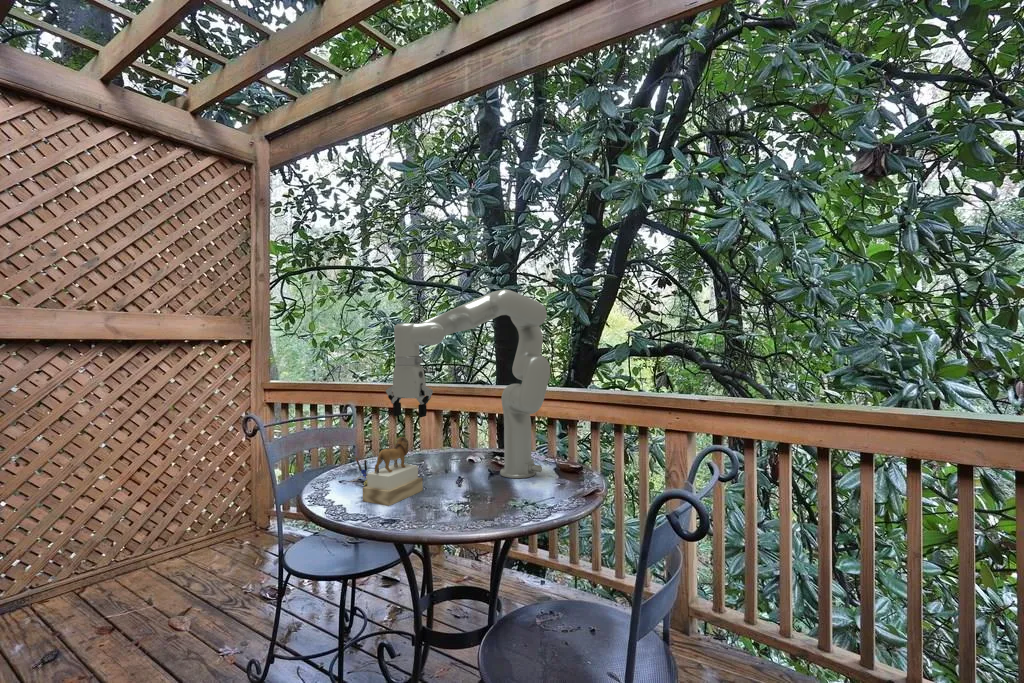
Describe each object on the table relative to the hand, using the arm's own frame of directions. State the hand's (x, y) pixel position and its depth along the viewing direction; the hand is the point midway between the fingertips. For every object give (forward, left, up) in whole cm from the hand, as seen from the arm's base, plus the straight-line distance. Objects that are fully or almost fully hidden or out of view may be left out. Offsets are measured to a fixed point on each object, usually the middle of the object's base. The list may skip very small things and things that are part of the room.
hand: (409, 416), depth 164 cm
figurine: (+20, 0, -24) cm, 31 cm away
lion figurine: (+2, +7, -16) cm, 17 cm away
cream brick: (+1, +7, -19) cm, 21 cm away
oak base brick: (+1, +7, -23) cm, 25 cm away
